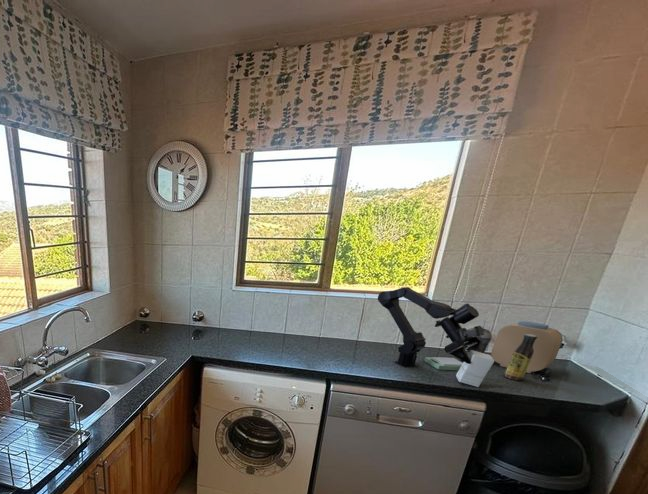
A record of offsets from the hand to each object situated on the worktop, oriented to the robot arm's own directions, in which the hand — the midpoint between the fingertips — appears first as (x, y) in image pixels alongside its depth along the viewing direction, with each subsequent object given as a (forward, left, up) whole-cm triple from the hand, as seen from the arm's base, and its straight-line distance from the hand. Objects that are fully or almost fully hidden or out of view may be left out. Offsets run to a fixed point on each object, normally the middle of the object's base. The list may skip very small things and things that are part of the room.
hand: (475, 361), depth 167 cm
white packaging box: (0, +1, -9) cm, 9 cm away
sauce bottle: (+25, +5, -10) cm, 28 cm away
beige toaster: (+39, +17, -10) cm, 44 cm away
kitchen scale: (+7, +22, -10) cm, 25 cm away
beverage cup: (+29, +30, -10) cm, 43 cm away
